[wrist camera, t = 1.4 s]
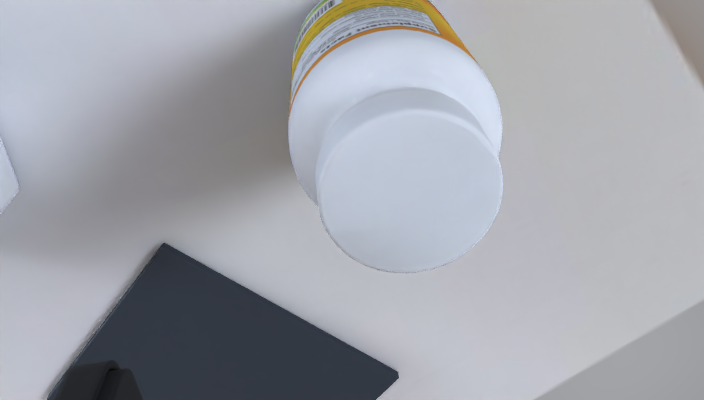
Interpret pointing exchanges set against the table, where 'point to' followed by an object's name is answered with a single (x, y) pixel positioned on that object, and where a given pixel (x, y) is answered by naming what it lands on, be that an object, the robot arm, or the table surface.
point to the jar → (6, 179)
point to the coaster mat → (224, 342)
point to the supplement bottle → (394, 133)
